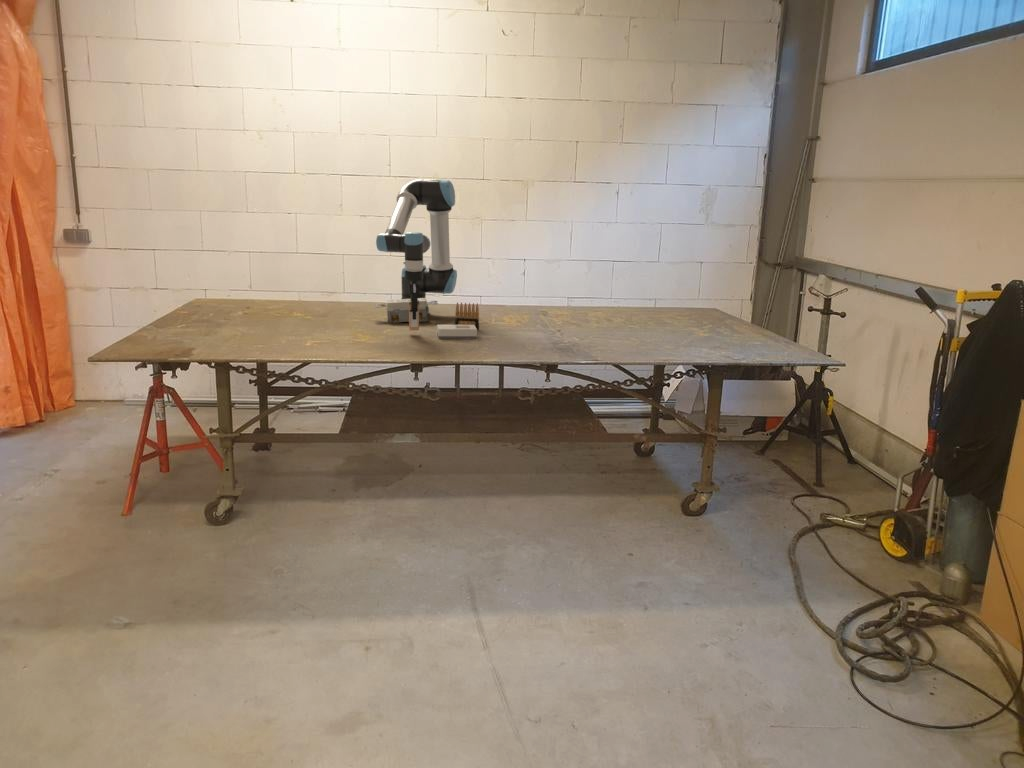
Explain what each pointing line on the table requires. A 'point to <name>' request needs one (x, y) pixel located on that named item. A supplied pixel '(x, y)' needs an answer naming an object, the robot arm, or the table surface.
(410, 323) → the copper brown rectangular block
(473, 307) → the ammunition clip
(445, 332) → the socket plate
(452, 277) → the robot arm
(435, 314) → the table surface
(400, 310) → the electrical outlet
